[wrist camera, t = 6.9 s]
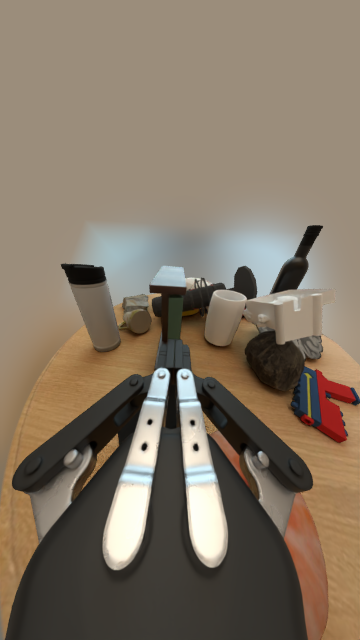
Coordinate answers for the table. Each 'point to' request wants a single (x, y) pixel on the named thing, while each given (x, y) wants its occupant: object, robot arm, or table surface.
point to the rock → (275, 361)
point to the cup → (224, 316)
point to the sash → (175, 316)
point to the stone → (135, 303)
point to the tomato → (299, 554)
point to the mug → (136, 321)
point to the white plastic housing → (290, 312)
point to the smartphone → (133, 421)
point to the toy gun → (322, 403)
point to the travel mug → (94, 304)
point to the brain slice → (304, 344)
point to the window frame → (167, 295)
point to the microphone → (203, 295)
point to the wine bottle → (296, 263)
